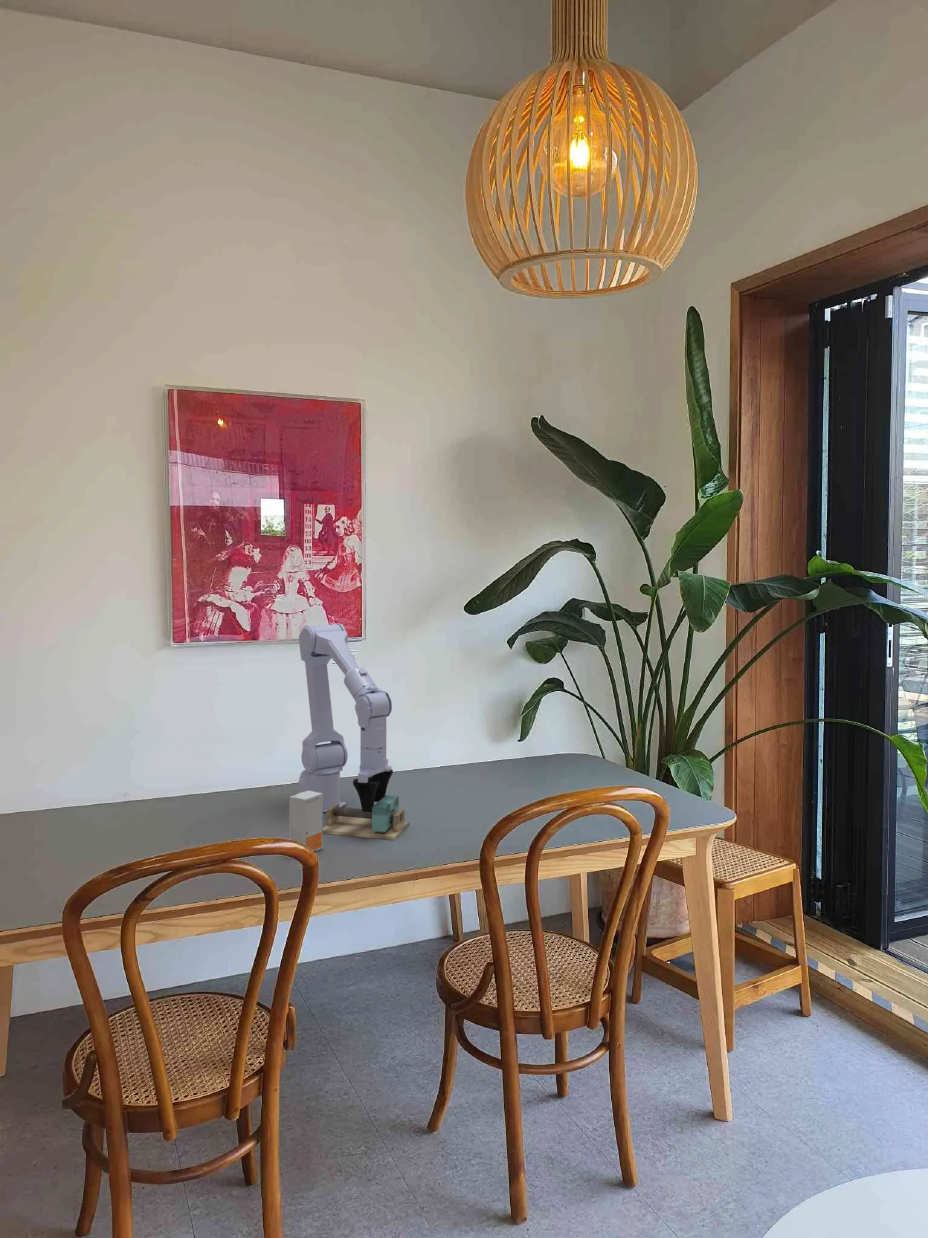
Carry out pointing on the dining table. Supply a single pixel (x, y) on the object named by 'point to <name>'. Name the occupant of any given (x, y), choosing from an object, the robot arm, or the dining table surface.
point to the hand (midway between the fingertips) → (373, 806)
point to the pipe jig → (361, 823)
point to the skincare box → (306, 818)
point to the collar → (384, 813)
